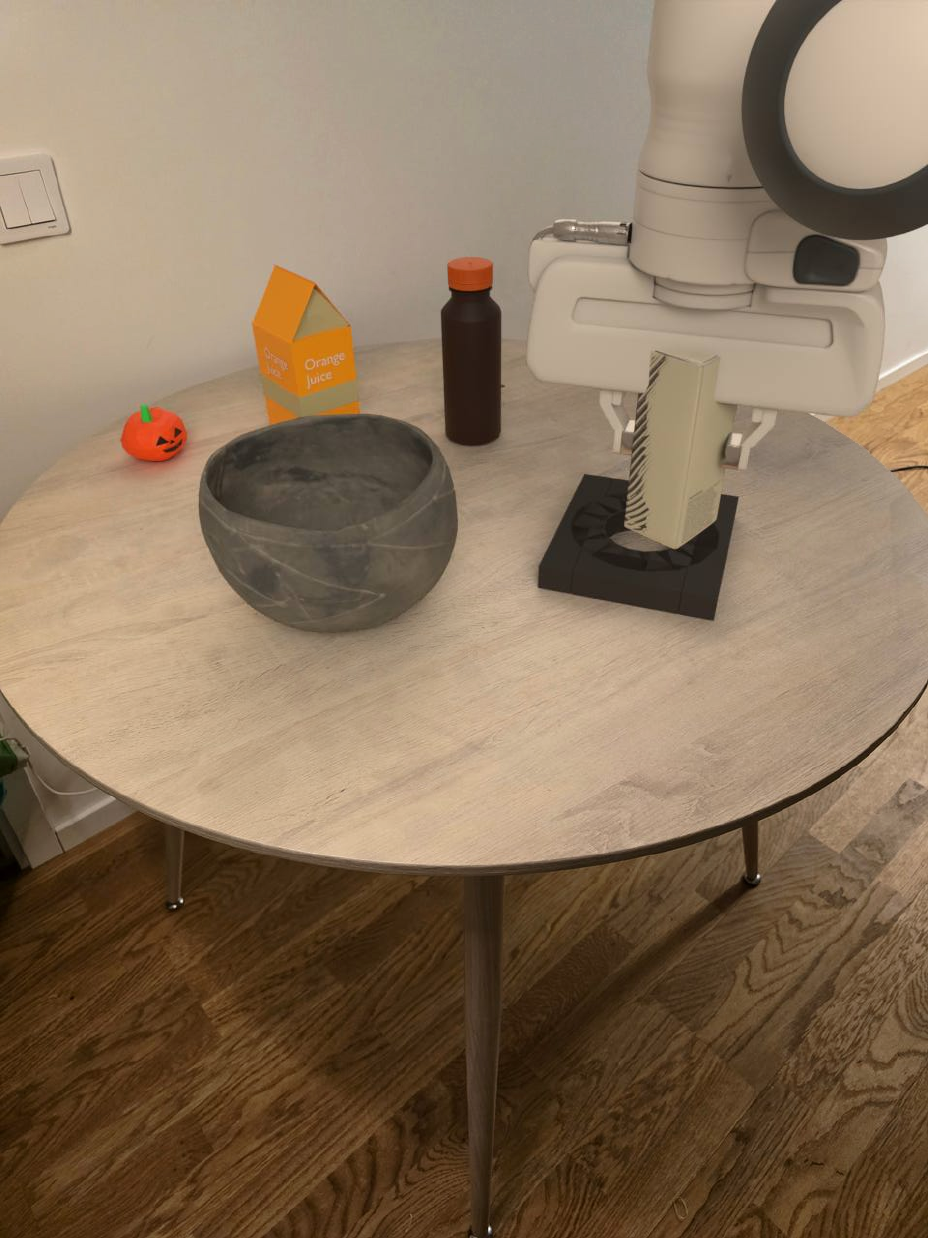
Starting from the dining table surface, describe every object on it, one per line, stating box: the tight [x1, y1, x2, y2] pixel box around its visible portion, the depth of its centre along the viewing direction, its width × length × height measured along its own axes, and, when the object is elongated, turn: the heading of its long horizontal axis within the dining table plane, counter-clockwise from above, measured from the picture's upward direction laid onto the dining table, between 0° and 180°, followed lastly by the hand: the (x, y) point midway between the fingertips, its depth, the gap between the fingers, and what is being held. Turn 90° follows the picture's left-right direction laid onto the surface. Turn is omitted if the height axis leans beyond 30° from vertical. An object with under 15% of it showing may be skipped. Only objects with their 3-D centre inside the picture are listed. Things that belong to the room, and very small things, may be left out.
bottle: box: [440, 256, 502, 447], centre depth 99 cm, size 7×7×20 cm
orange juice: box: [251, 264, 361, 425], centre depth 98 cm, size 8×9×20 cm
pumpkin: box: [120, 403, 188, 462], centre depth 101 cm, size 7×8×6 cm
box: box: [624, 350, 738, 549], centre depth 55 cm, size 5×4×13 cm
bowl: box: [198, 413, 459, 633], centre depth 74 cm, size 21×21×15 cm
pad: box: [537, 473, 740, 621], centre depth 84 cm, size 16×18×2 cm
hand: (679, 458), depth 55 cm, fingers closed on box, 5 cm apart
